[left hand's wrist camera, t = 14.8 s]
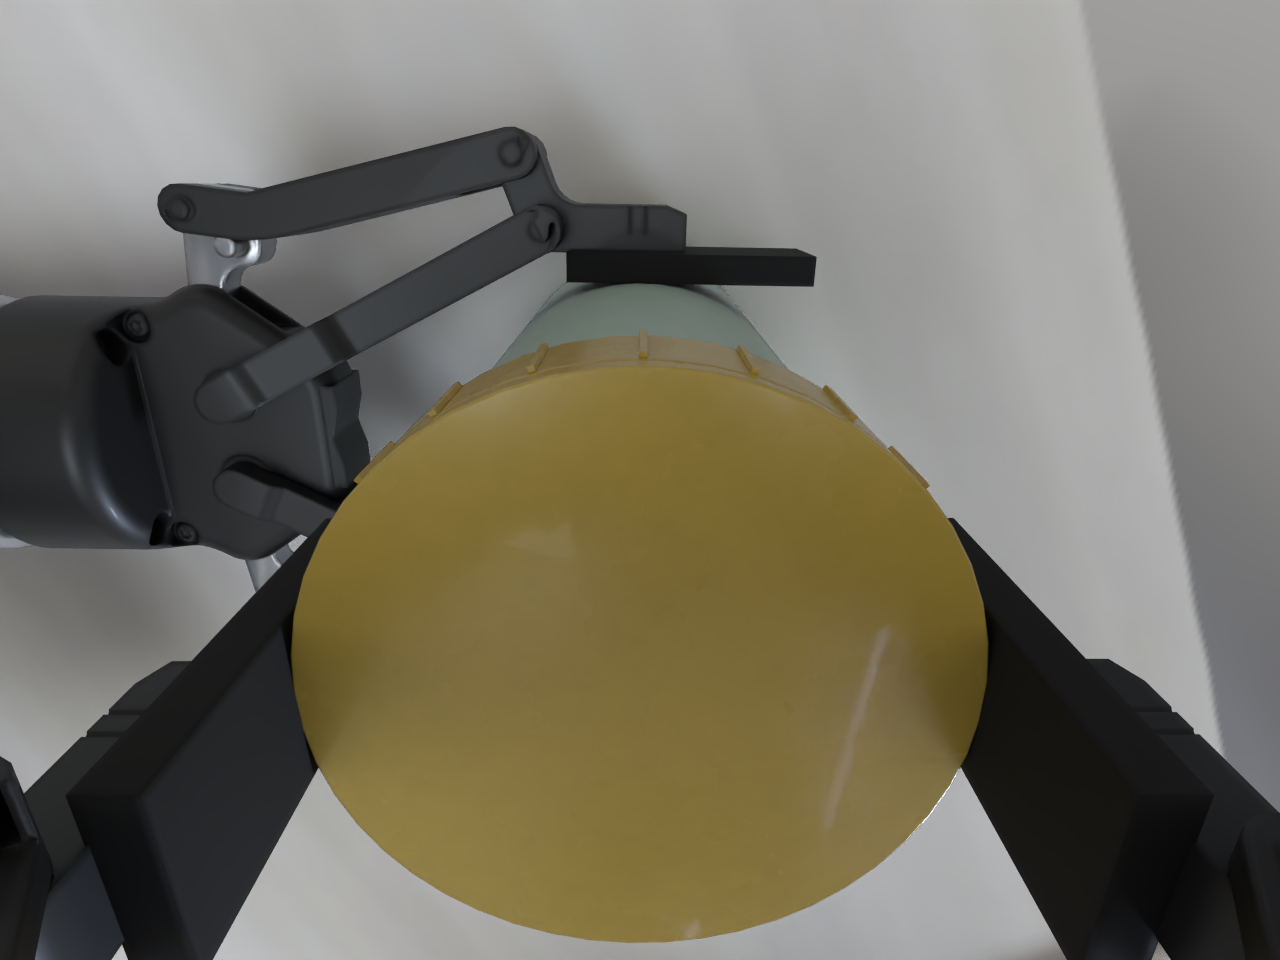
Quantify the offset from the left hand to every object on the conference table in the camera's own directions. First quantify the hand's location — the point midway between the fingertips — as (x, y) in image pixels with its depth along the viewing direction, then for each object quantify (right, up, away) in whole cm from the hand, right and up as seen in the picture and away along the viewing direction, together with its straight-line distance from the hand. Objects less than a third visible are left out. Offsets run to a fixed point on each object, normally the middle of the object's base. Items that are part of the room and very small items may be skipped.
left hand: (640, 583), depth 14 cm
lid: (0, -1, -3) cm, 3 cm away
